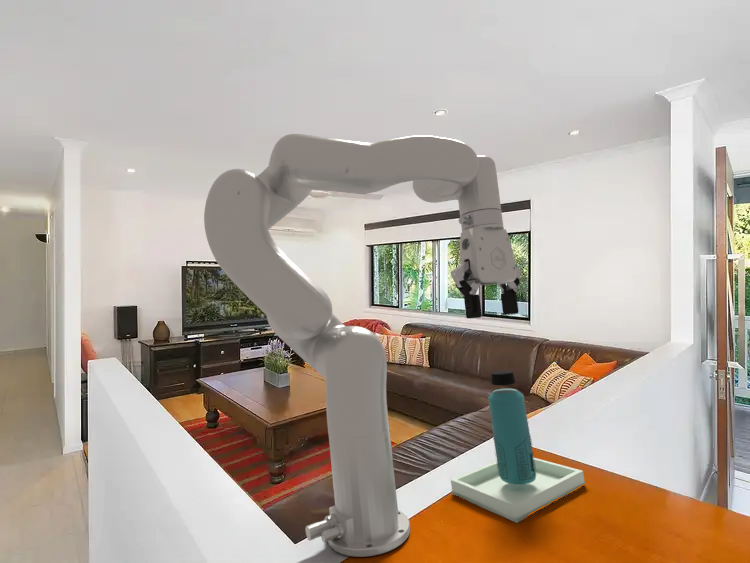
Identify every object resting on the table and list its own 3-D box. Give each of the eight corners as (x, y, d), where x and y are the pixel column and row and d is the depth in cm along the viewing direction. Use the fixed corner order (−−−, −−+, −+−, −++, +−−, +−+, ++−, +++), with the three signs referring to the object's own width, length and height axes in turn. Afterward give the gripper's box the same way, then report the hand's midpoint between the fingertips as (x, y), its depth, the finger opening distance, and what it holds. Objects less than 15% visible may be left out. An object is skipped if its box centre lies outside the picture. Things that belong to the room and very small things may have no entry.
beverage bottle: (541, 493, 67) (524, 372, 69) (500, 494, 69) (484, 375, 71) (535, 478, 74) (519, 367, 76) (497, 479, 75) (482, 370, 77)
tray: (516, 522, 60) (514, 505, 61) (452, 494, 72) (450, 479, 72) (585, 485, 70) (582, 470, 70) (518, 465, 82) (516, 452, 82)
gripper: (462, 216, 68) (474, 318, 66) (528, 221, 77) (540, 311, 75) (433, 227, 74) (443, 320, 72) (497, 230, 83) (508, 313, 82)
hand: (493, 315), depth 74 cm, fingers open, 9 cm apart
